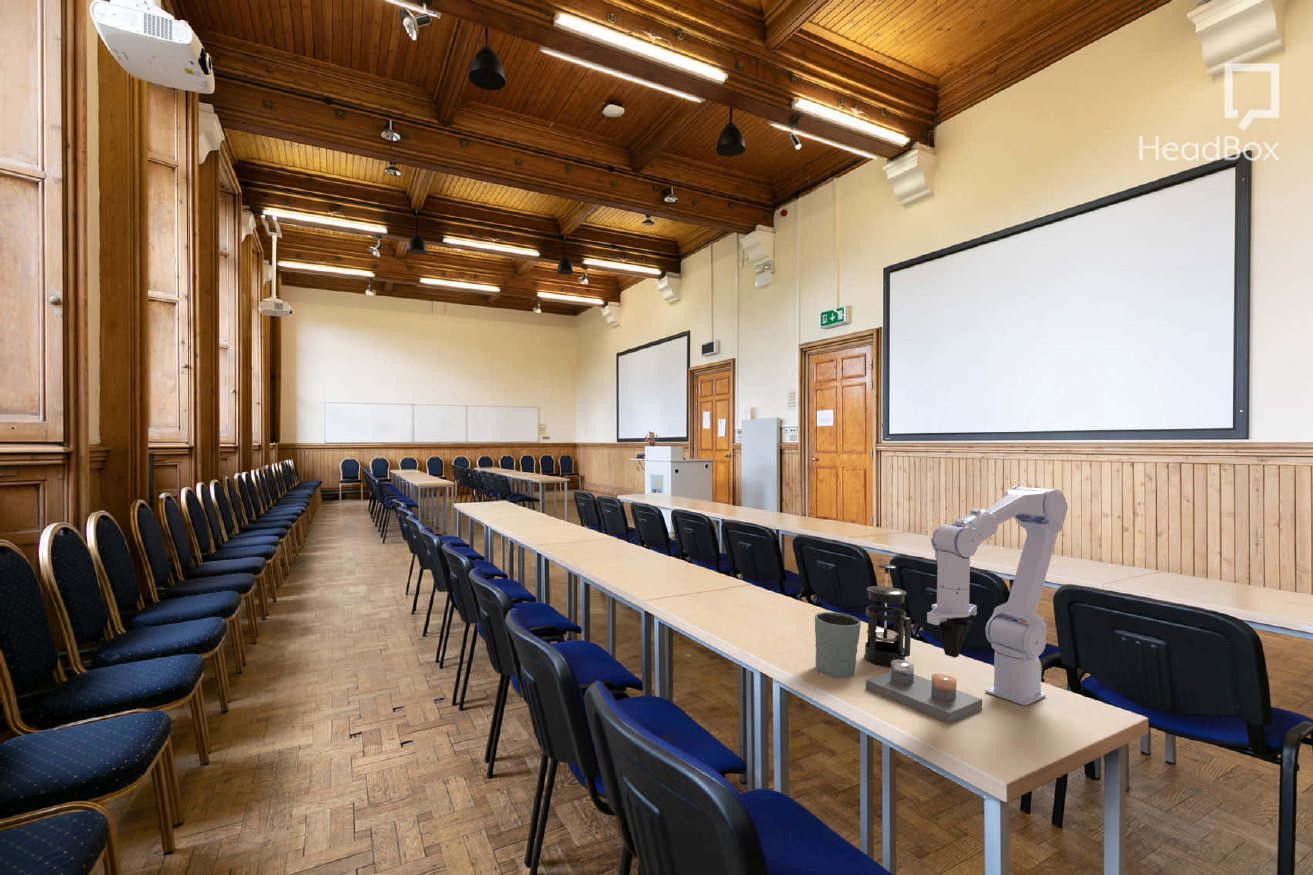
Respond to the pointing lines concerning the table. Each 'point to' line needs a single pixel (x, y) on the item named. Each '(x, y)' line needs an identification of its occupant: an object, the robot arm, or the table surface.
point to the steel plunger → (902, 667)
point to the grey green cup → (836, 643)
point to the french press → (883, 650)
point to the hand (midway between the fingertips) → (951, 655)
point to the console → (924, 696)
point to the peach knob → (944, 682)
